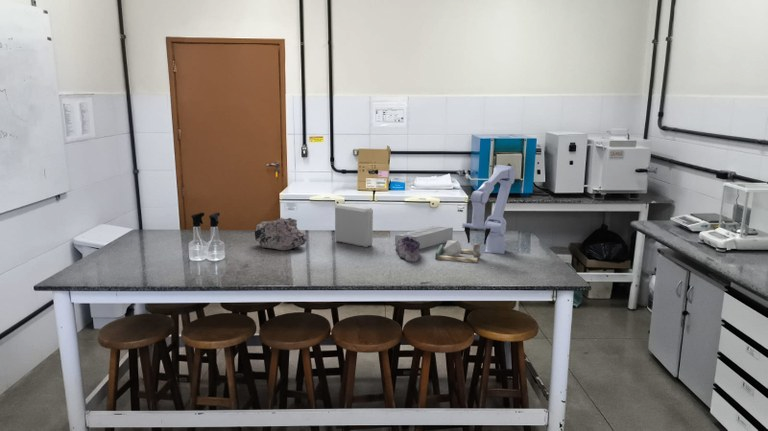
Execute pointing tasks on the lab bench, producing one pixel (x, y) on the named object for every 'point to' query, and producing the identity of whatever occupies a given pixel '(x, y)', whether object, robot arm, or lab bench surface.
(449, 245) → the die
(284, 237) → the mineral sample
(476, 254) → the tan frame
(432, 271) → the lab bench surface
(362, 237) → the grey thick block
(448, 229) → the long grey block
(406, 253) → the geode
